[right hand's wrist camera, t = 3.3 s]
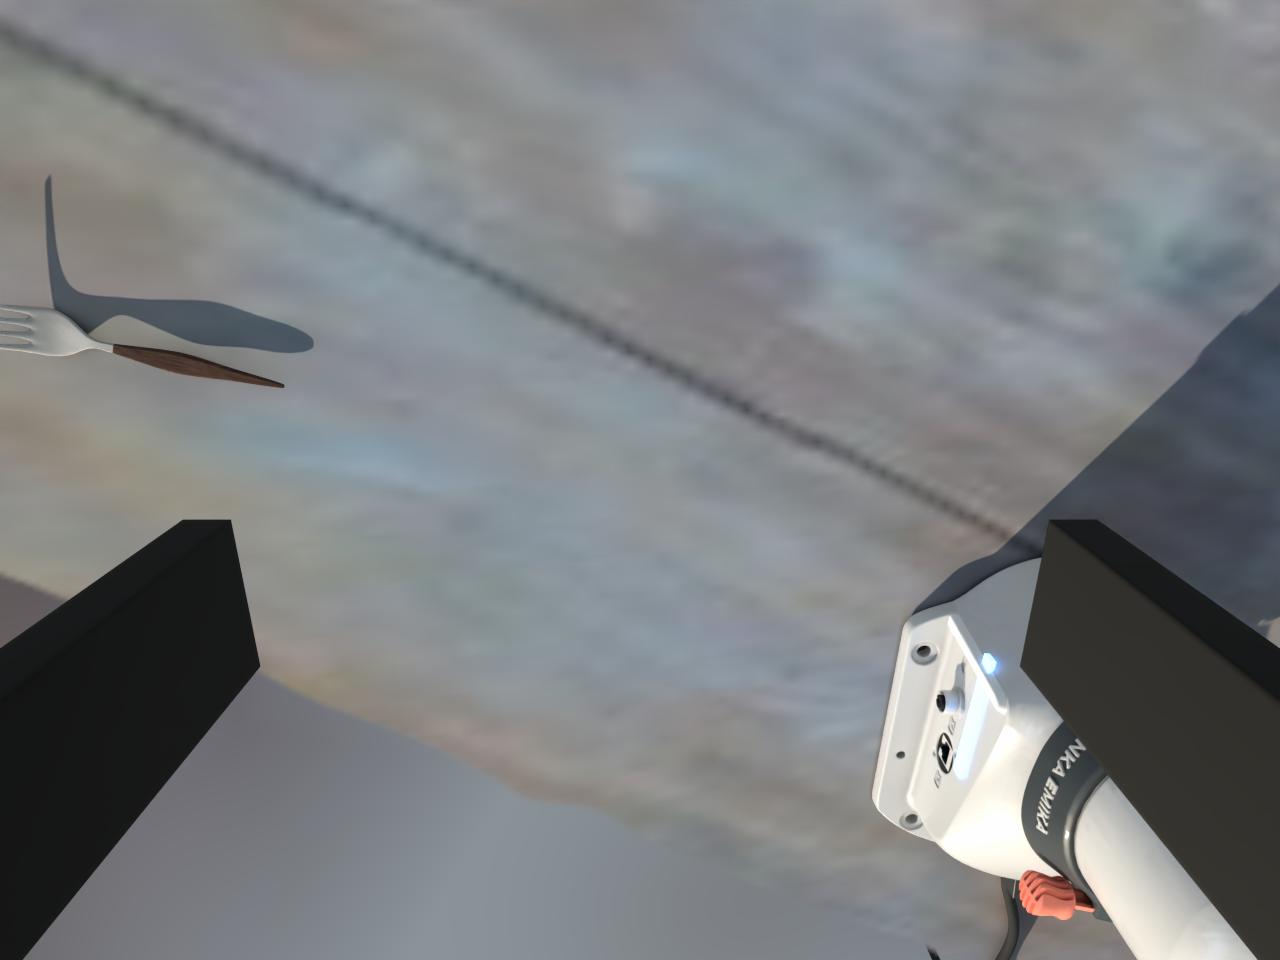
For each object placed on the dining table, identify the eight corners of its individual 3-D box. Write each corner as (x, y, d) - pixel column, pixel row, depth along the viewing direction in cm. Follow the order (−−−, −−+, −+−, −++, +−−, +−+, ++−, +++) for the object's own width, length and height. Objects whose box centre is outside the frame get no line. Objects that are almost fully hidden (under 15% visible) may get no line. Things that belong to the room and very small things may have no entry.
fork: (286, 406, 43) (270, 416, 41) (-10, 341, 42) (-40, 348, 40) (289, 361, 42) (273, 369, 40) (-12, 293, 41) (-44, 298, 39)
